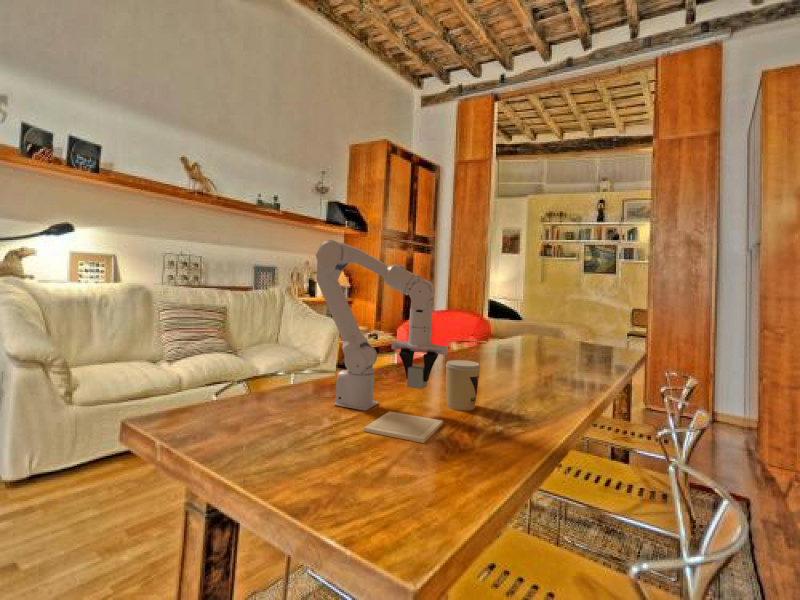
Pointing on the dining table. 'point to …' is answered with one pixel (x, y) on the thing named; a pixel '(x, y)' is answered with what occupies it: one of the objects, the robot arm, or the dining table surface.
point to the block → (416, 377)
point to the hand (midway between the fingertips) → (417, 379)
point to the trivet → (404, 426)
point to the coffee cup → (461, 384)
